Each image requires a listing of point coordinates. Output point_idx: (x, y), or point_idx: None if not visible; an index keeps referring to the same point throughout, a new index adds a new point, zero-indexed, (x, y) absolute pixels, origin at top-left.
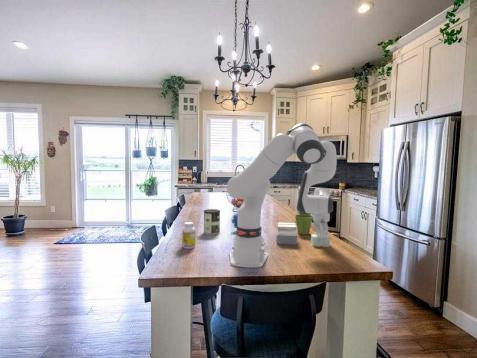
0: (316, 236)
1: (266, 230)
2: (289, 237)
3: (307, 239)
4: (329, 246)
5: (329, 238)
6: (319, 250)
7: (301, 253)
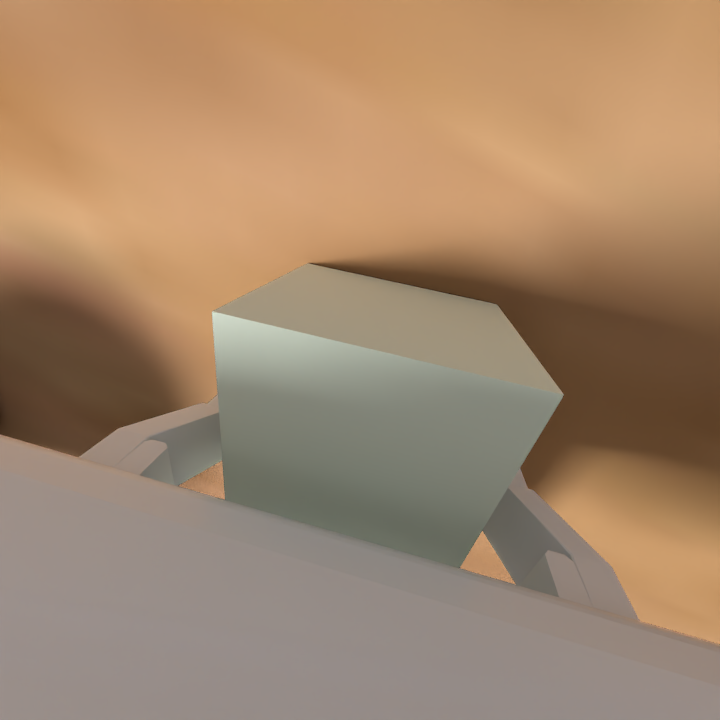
0: None
1: None
2: None
3: None
4: (496, 310)
5: (546, 396)
6: (604, 503)
7: None
